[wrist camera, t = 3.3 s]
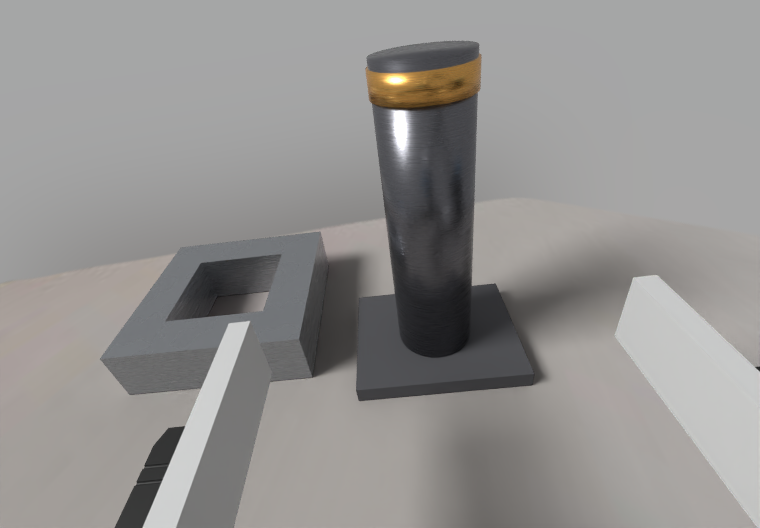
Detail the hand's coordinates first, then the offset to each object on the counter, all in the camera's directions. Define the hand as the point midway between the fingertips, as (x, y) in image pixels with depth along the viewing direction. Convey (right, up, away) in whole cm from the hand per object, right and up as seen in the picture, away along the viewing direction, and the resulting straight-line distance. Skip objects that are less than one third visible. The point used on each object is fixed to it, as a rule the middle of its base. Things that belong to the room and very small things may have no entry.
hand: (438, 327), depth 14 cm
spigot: (+1, -2, +11) cm, 11 cm away
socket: (-12, -2, +16) cm, 20 cm away
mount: (+2, -3, +12) cm, 12 cm away
